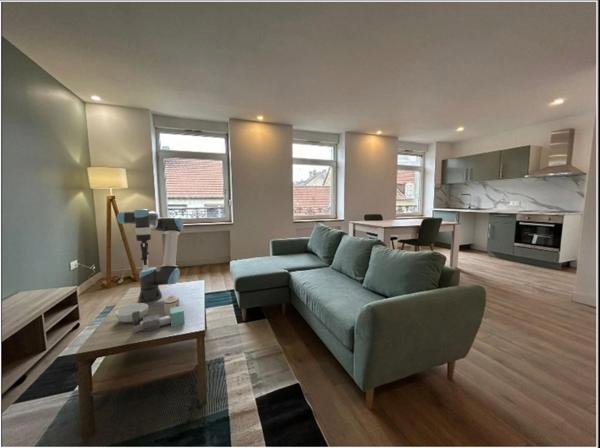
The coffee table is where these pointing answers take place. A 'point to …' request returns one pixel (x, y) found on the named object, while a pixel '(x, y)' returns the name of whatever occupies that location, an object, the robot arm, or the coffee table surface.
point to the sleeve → (151, 323)
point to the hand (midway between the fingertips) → (146, 267)
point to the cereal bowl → (131, 311)
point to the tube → (139, 325)
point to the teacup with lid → (170, 304)
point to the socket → (177, 316)
